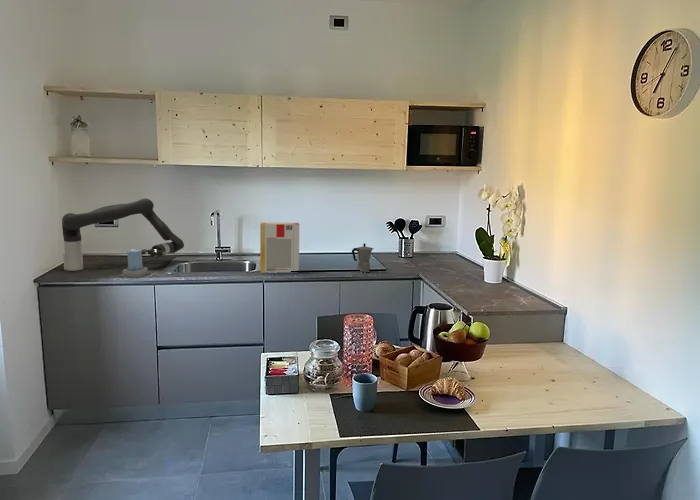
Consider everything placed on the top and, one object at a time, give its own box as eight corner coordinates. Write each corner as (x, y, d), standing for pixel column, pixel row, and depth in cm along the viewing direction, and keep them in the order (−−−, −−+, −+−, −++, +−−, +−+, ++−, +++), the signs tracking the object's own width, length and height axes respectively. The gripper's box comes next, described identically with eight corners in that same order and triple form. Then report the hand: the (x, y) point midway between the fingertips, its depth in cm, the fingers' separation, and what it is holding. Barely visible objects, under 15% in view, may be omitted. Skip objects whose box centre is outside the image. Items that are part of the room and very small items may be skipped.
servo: (126, 274, 307) (125, 250, 305) (136, 271, 316) (135, 247, 314) (134, 275, 306) (133, 250, 304) (144, 271, 315) (143, 248, 312)
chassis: (120, 276, 307) (120, 270, 306) (133, 272, 318) (133, 266, 318) (137, 278, 304) (137, 271, 304) (150, 273, 316) (149, 267, 315)
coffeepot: (368, 269, 346) (369, 241, 343) (376, 272, 338) (377, 244, 335) (347, 271, 339) (348, 243, 335) (355, 274, 330) (355, 245, 327)
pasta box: (297, 270, 337) (298, 222, 331) (298, 273, 329) (299, 224, 323) (260, 270, 333) (260, 222, 327) (260, 273, 325) (260, 224, 319)
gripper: (150, 243, 334) (133, 247, 319) (170, 244, 331) (154, 249, 315) (150, 255, 336) (134, 260, 320) (171, 257, 332) (155, 262, 317)
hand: (144, 254), depth 318 cm, fingers open, 8 cm apart
